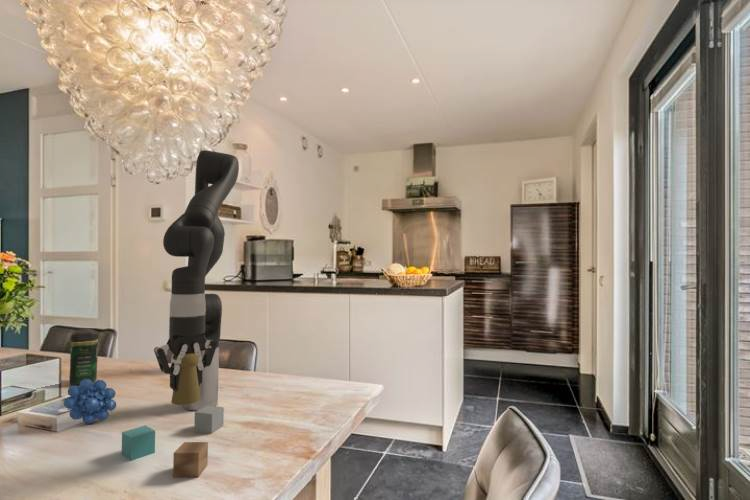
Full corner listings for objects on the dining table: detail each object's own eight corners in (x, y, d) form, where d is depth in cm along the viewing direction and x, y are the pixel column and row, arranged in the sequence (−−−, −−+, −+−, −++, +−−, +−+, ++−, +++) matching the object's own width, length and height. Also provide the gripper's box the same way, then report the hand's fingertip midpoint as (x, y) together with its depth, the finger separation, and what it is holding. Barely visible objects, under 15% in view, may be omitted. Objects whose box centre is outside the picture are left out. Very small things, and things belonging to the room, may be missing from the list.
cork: (189, 405, 92) (190, 355, 92) (165, 403, 93) (166, 354, 94) (205, 397, 98) (206, 349, 98) (182, 394, 99) (184, 348, 99)
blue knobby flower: (63, 434, 104) (64, 385, 104) (62, 425, 109) (63, 379, 110) (118, 423, 111) (119, 378, 111) (114, 416, 116) (115, 372, 117)
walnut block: (173, 478, 84) (173, 452, 84) (183, 465, 89) (184, 442, 89) (198, 478, 84) (198, 452, 84) (207, 465, 89) (207, 442, 89)
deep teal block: (121, 454, 94) (122, 432, 94) (144, 446, 98) (145, 425, 98) (131, 461, 91) (131, 438, 91) (154, 453, 95) (155, 430, 95)
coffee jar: (96, 384, 145) (97, 330, 145) (68, 387, 141) (69, 332, 141) (97, 377, 153) (98, 326, 154) (71, 380, 149) (72, 328, 150)
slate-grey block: (194, 432, 106) (194, 412, 107) (206, 424, 111) (206, 405, 111) (211, 434, 105) (212, 414, 105) (223, 426, 110) (223, 407, 110)
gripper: (210, 309, 104) (209, 378, 103) (148, 314, 93) (146, 391, 93) (225, 312, 99) (223, 385, 98) (160, 318, 88) (159, 399, 88)
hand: (186, 387), depth 96 cm, fingers closed on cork, 4 cm apart
